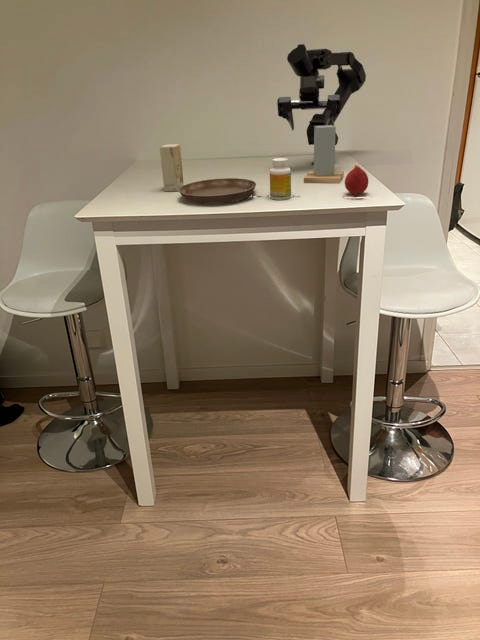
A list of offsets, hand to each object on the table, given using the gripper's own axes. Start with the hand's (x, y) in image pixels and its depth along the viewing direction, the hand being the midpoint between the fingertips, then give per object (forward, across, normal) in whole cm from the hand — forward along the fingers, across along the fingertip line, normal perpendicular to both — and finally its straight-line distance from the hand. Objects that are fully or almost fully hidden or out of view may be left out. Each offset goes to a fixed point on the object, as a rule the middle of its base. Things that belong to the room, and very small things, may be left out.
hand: (308, 128), depth 153 cm
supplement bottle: (+30, -7, -10) cm, 32 cm away
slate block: (+15, +4, +2) cm, 15 cm away
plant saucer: (+28, -24, -8) cm, 38 cm away
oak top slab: (+16, +5, +3) cm, 17 cm away
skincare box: (+20, -38, -1) cm, 43 cm away
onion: (+30, +12, -10) cm, 34 cm away
